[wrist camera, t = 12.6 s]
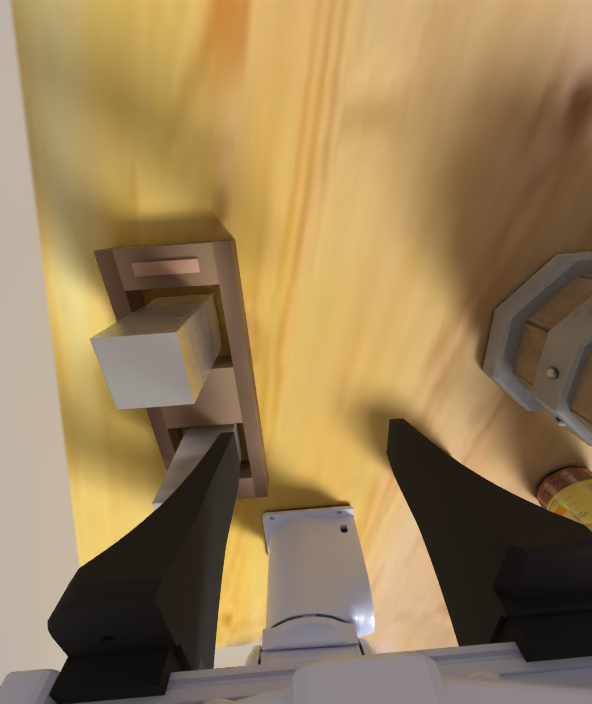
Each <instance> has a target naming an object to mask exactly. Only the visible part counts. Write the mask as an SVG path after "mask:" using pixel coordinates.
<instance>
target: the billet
mask: <svg viewBox="0 0 592 704" xmlns="http://www.w3.org/2000/svg"><path fill="white" fill-rule="evenodd" d="M90 341H91V344H92V346H93V349H94V351H95V354H96V356H97V359H98V362H99V364H100V367H101V369H102V372H103V374H104V377H105V380H106V382H107V385H108V387H109V390H110V392H111V395H112V398H113V400H114V403H115V405H116V408H117V410H123V409H136V408H148V407H161V406H174V405H187V404H194V403H195V401H196V399H197V397H198V395H199V393H200V391H201V389H202V387H203V385H204V383H205V381H206V378H207V376H208V374H209V372H210V370H211V368H212V366H213V364H214V362H215V360H216V358H217V356H218V354H219V352H220V350H221V347H222V345H223V342H222V337H221V331H220V326H219V321H218V315H217V310H216V304H215V299H214V293H212V294H199V295H185V296H172V297H158V298H156V299H154V300H153V301H151V302H149V303H148V304H146V305H144V306H143V307H141V308H140V309H138V310H136V311H135V312H133V313H131V314H130V315H128V316H126V317H125V318H123V319H121V320H120V321H118V322H116V323H115V324H113V325H111V326H110V327H108V328H107V329H105V330H103V331H102V332H100V333H98V334H97V335H95V336H93V337H92V338H90Z"/></svg>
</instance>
